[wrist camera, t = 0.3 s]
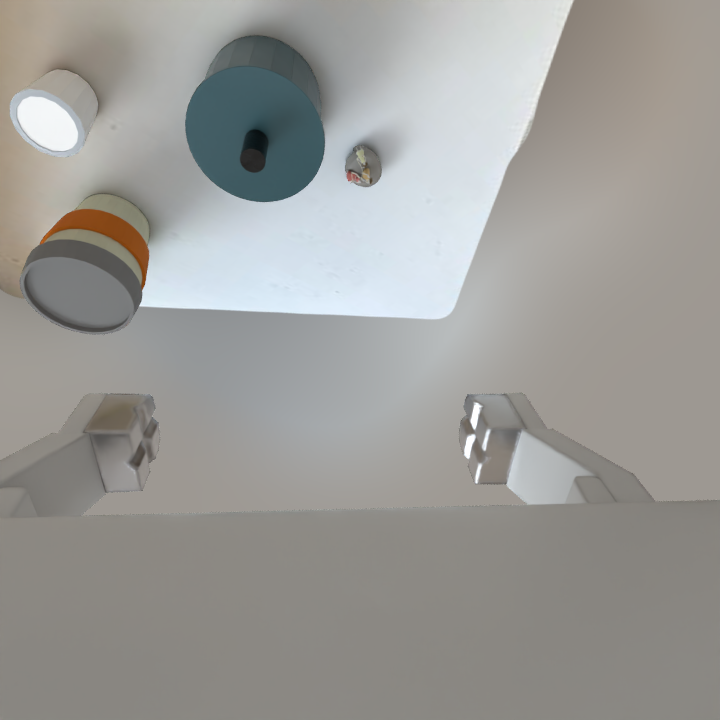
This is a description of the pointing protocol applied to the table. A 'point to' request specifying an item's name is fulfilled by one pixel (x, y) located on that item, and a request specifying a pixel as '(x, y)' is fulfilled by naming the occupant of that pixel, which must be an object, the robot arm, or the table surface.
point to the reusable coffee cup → (90, 267)
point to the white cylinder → (55, 113)
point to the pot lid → (255, 133)
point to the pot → (269, 61)
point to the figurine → (363, 167)
